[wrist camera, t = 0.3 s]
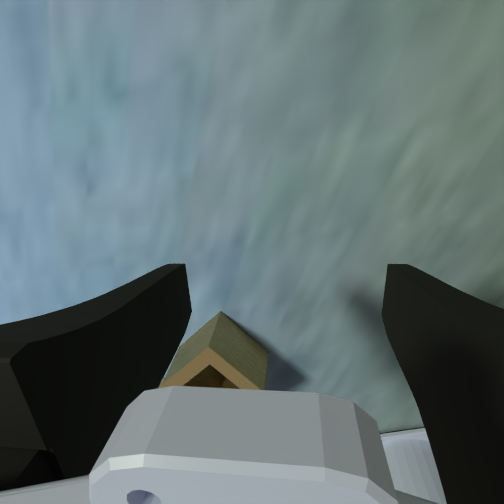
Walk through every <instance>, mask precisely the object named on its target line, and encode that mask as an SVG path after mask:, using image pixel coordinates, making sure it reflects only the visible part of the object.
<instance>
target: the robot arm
mask: <svg viewBox="0 0 504 504" xmlns="http://www.w3.org/2000/svg"><path fill="white" fill-rule="evenodd" d="M191 312H192V308H191V301H190V294H189V287H188V280H187V273H186V266H185V264H167V265H164V266H162V267H159V268H157V269H155V270H153V271H151V272H149V273H147V274H145V275H143V276H141V277H139V278H137V279H135V280H133V281H131V282H129V283H127V284H125V285H123V286H121V287H118V288H116V289H114V290H112V291H110V292H108V293H106V294H103V295H101V296H99V297H96V298H94V299H91V300H88V301H86V302H83V303H80V304H77V305H74V306H72V307H68V308H65V309H62V310H58V311H55V312H51V313H48V314H45V315H41V316H37V317H33V318H29V319H25V320H21V321H16V322H11V323H6V324H2V325H0V504H504V309H502V308H499V307H497V306H494V305H492V304H489V303H487V302H484V301H482V300H480V299H478V298H475V297H473V296H471V295H469V294H467V293H464V292H462V291H460V290H458V289H456V288H454V287H452V286H450V285H448V284H446V283H444V282H442V281H441V280H439V279H437V278H435V277H433V276H431V275H429V274H427V273H425V272H423V271H421V270H419V269H417V268H415V267H413V266H411V265H408V264H388V266H387V275H386V283H385V291H384V299H383V308H382V318H383V322H384V326H385V329H386V333H387V336H388V339H389V342H390V344H391V346H392V349H393V351H394V353H395V355H396V358H397V360H398V362H399V364H400V367H401V369H402V371H403V373H404V375H405V378H406V380H407V382H408V384H409V386H410V389H411V391H412V393H413V396H414V398H415V401H416V403H417V406H418V408H419V412H420V415H421V418H422V421H423V424H424V427H425V428H420V429H413V430H406V431H399V432H392V433H385V434H380V432H379V429H378V425H377V421H376V420H374V419H373V418H372V417H371V416H370V415H368V414H367V413H366V412H365V411H364V410H362V409H361V408H360V407H359V406H358V405H356V404H355V403H354V402H352V401H349V400H345V399H341V398H337V397H333V396H329V395H325V394H321V393H313V392H292V391H272V390H252V389H231V388H211V387H191V386H170V387H164V388H158V387H159V385H160V383H161V381H162V379H163V377H164V375H165V373H166V371H167V369H168V367H169V365H170V363H171V361H172V359H173V357H174V355H175V353H176V351H177V349H178V346H179V344H180V342H181V340H182V338H183V336H184V334H185V331H186V328H187V325H188V322H189V319H190V316H191Z"/></svg>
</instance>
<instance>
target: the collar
mask: <svg viewBox="0 0 504 504" xmlns="http://www.w3.org/2000/svg"><path fill="white" fill-rule="evenodd" d="M267 360H268V351H267V350H265V349H264V348H263V347H262V346H261V345H260V344H258V343H257V342H256V341H255V340H254V339H253V338H251V337H250V336H249V335H248V334H247V333H246V332H244V331H243V330H242V329H241V328H240V327H239V326H237V325H236V324H235V323H234V322H233V321H231V320H230V319H229V318H228V317H227V316H226V315H224V314H223V313H222V312H221V311H220V312H219V313H218V314H217V315H216V316H215V317H213V318H212V319H211V320H210V321H209V322H208V323H206V324H205V325H204V326H203V327H202V328H201V329H200V330H198V331H197V332H196V333H195V334H194V335H193V336H191V337H190V338H189V339H188V340H187V341H186V342H185V343H183V344H182V345H181V346H180V347H179V349H178V351H177V353H176V355H175V358H174V360H173V362H172V364H171V366H170V368H169V370H168V372H167V375H166V377H165V379H164V381H163V383H162V386H163V387H170V386H191V387H211V388H231V389H252V390H265V380H266V370H267Z"/></svg>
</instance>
